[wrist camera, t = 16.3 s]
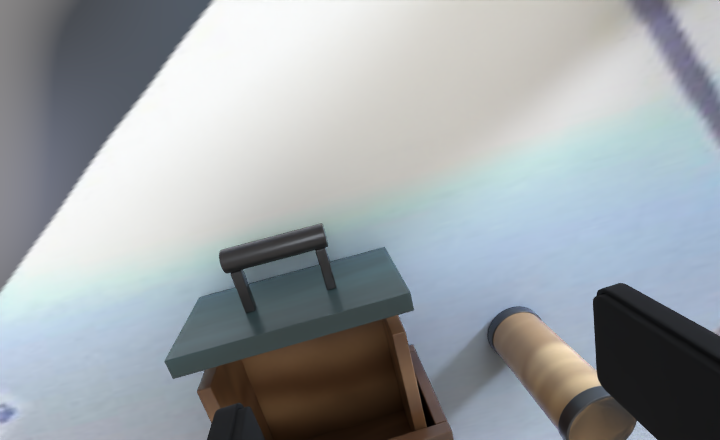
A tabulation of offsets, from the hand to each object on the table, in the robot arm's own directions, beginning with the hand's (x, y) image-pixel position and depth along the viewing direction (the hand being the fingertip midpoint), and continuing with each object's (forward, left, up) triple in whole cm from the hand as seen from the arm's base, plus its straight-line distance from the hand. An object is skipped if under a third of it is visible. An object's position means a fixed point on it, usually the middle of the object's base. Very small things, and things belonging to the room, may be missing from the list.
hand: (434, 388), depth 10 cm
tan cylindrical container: (+14, +11, -18) cm, 25 cm away
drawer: (+8, -5, -17) cm, 19 cm away
